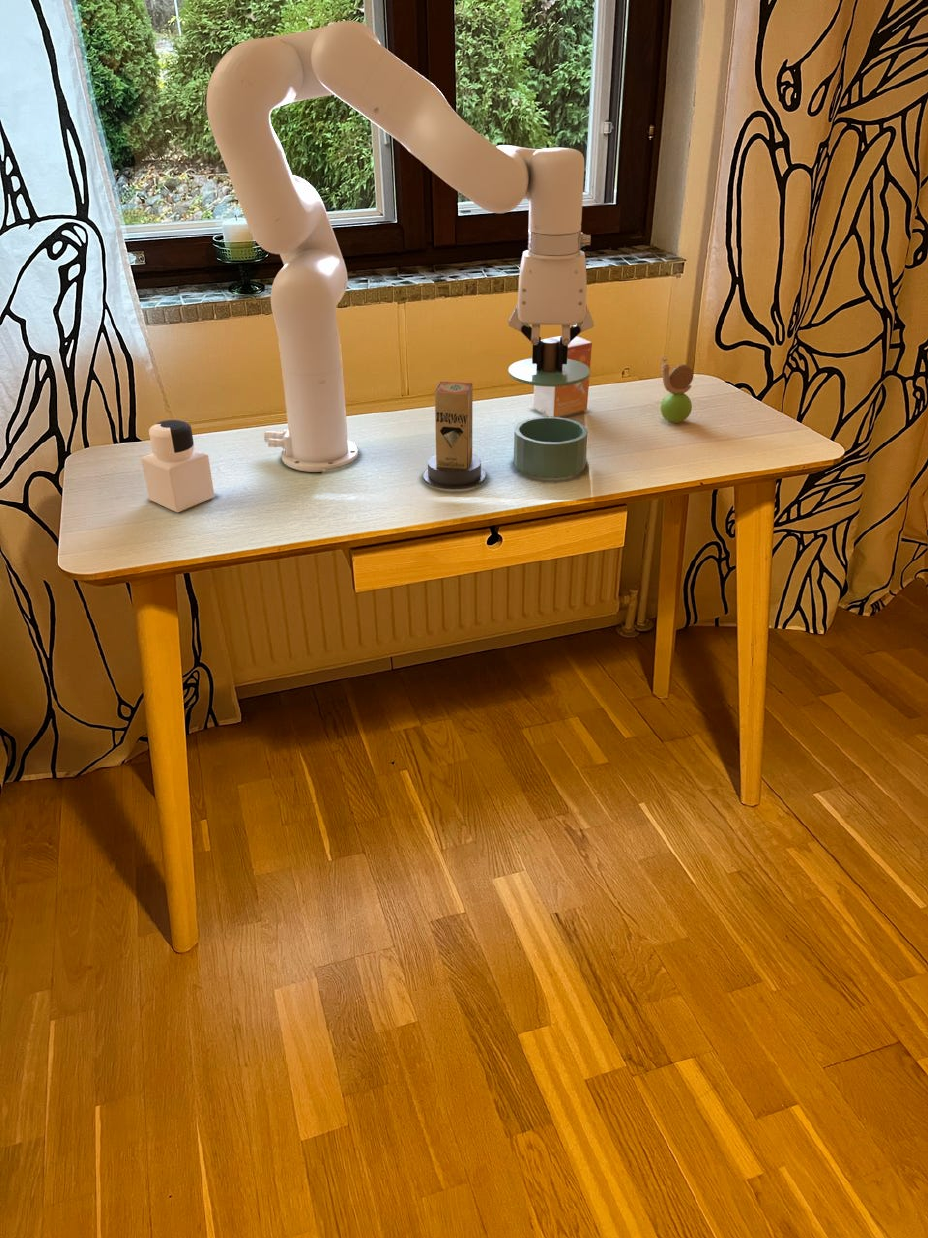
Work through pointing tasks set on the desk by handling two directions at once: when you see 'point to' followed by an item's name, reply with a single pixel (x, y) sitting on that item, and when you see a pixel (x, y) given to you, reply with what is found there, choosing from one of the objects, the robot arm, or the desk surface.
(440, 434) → the shoe polish box
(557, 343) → the tin lid
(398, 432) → the desk surface
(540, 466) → the tin
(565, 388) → the small box
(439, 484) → the stand
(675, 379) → the snail figurine
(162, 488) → the medicine bottle
